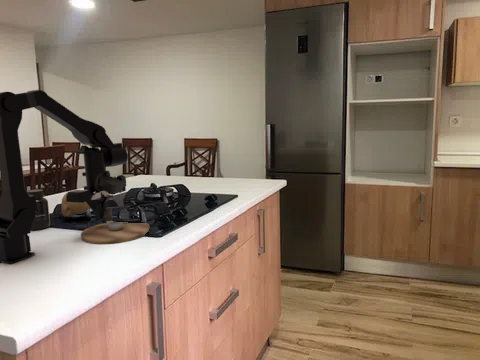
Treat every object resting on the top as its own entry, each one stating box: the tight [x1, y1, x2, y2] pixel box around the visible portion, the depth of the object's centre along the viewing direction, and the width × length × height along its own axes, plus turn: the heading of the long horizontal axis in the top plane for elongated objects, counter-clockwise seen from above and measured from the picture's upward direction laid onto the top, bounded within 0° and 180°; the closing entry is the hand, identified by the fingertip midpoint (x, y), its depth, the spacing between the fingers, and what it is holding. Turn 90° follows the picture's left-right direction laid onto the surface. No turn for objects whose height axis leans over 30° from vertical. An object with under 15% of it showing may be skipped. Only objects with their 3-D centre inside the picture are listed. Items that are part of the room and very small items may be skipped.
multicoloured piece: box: [104, 207, 123, 230], centre depth 112 cm, size 10×4×5 cm, turn 34°
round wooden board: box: [80, 222, 150, 245], centre depth 110 cm, size 19×19×1 cm
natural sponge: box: [61, 189, 91, 217], centre depth 128 cm, size 9×9×10 cm
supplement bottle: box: [26, 189, 51, 231], centre depth 119 cm, size 7×7×12 cm
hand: (100, 219), depth 114 cm, fingers closed
